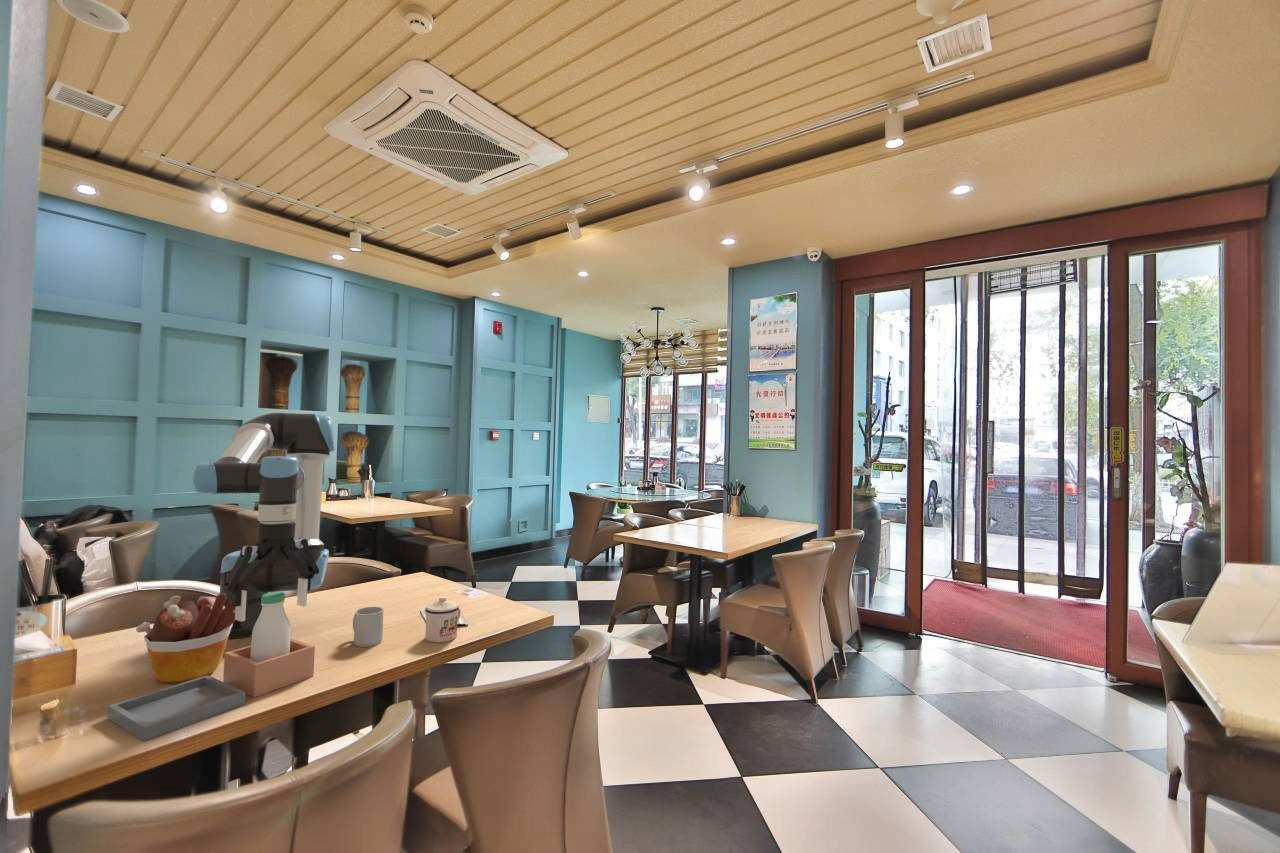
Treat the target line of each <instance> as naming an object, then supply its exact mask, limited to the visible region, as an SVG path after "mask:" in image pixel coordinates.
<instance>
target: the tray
mask: <svg viewBox="0 0 1280 853" xmlns="http://www.w3.org/2000/svg"><path fill="white" fill-rule="evenodd" d="M246 695H247V694H246V692H244V691H242V690H240V689H238V688H235V687H233V686H231V685H229V684H227V683H224V682H223V680H222V681H221V680H219V679H218V678H215V677H213V676H211V675H210V674H209V675H206V676H203V677H200V678H197V679H193V680H190V681H187V682H182V683H176V684H175V685H174V684H173V685H172V686H168V687H165V688H161V689H158V690H154V691H151V692H148V693H145V694H142V695H138V696H136V697H131V698H129V699H126V700H122V701H119V702H116V703H113V704H109V705H108V706H107V707H108V709H107V719H108V720H109V721H110V722H113V723H114V724H115V725H117V726H118V727H121V728H122V729H123V730H125V731H127V732H128V733H130V734H132V735H133V736H135V737H136V738H138V739H139V740H141V741H143V742H146V741H149V740H151V739H154V738H157V737H160V736H162V735H165V734H167V733H170V732H173V731H176V730H178V729H181V728H183V727H186V726H188V725H191V724H194V723H195V724H196V723H197V722H199V721H202V720H205V719H208V718H210V717H213V716H216V715H219V714H221V713H225V712H227V711H230V710H232V709H233V710H234V709H235V708H238V707H241V706H243V705H246Z"/></svg>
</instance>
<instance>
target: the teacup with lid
mask: <svg viewBox="0 0 1280 853" xmlns="http://www.w3.org/2000/svg"><path fill="white" fill-rule="evenodd" d="M438 598H439V599H438V600H435V601H434V602H431V603H429V604H428V605H427V607H426V606H425V607H426V608H425V610H426V620H425V634H424V635H425V636H424V637H425V640H426V641H427V642H429V643H437V644H438V643H446V642H450V641H452V640H455V639H456V638H457V635H458V624H457V622H458V620H459V618H460V614H461V613H462V611H461V608H460V607H459V604H458V603H457V602H454V601H451V600H449V599H447V597H446V596H444V595H442V596H439V597H438Z"/></svg>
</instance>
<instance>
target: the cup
mask: <svg viewBox="0 0 1280 853" xmlns="http://www.w3.org/2000/svg"><path fill="white" fill-rule="evenodd" d="M352 630H353V632H354V633H353V645H356V646H355V647H358V646H359V647H358V648H369V646H370V647H374V646H377V645H379V644H381V642H382V641H383V637H384V636H383V632H384V608H383V607H380V606H367V607H361V608H358V609H356V610H355V611H354V615H353V618H352ZM373 645H374V646H373Z"/></svg>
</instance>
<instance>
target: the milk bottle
mask: <svg viewBox="0 0 1280 853" xmlns="http://www.w3.org/2000/svg"><path fill="white" fill-rule="evenodd" d="M285 597H286V593H285V592H284V591H281V592H268V593H267V594H264V595H262V598H261V602H262V604H261V605H262V610H261V613H260V615H259V617H258V619H257V621H256V623H255V625H254V628H253V632H252V636H251V641H250V642H251V643H250V646H251V655H250V660H253V661H255V662H258V663H259V662H262V661H265V660H268V659H271V658H275V657H278V656H281V655H284V654H287V653H290V638H292V636H291V632H292V630H291V629H292V628H291V622H290V619H289V617H288V616H287V613H286V611H285V607H284V603H285V599H286V598H285Z"/></svg>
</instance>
